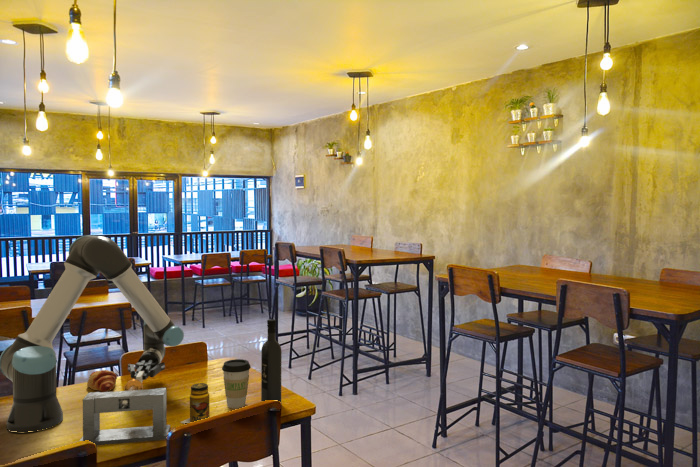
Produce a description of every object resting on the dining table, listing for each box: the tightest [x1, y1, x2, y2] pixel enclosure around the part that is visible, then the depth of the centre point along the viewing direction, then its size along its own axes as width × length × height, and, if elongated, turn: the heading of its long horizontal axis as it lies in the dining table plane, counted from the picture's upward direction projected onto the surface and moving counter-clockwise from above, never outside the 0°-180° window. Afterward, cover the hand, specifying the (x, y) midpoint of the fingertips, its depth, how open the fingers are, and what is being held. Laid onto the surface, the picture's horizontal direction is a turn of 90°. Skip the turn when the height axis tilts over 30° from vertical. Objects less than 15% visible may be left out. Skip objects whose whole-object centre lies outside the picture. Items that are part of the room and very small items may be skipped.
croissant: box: [86, 369, 118, 392], centre depth 195 cm, size 21×10×8 cm, turn 39°
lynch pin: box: [120, 378, 144, 407], centre depth 156 cm, size 5×14×5 cm, turn 12°
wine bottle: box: [260, 318, 283, 403], centre depth 178 cm, size 6×6×30 cm
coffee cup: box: [221, 358, 251, 409], centre depth 177 cm, size 10×10×15 cm
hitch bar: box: [79, 387, 171, 446], centre depth 151 cm, size 24×8×13 cm, turn 102°
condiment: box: [179, 382, 210, 425], centre depth 163 cm, size 7×8×12 cm
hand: (138, 380), depth 169 cm, fingers closed
